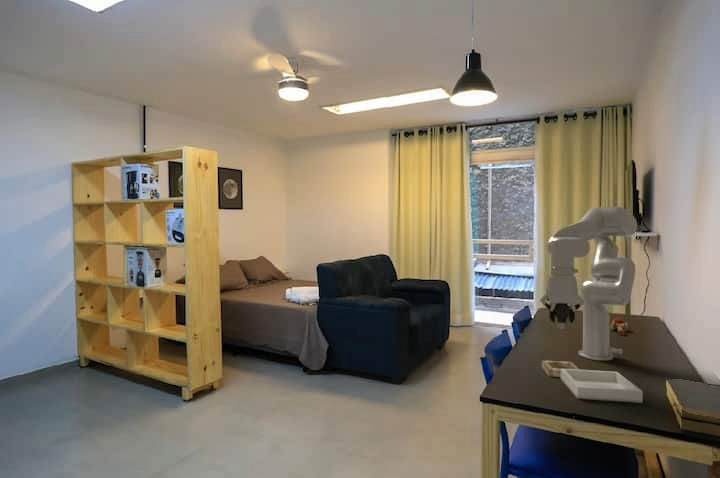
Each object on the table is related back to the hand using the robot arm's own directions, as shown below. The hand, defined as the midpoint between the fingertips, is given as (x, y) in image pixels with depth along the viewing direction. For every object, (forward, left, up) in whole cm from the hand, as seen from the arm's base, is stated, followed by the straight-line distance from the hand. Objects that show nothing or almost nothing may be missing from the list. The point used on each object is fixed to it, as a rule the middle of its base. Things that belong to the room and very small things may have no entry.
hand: (561, 321), depth 153 cm
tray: (-7, +16, -19) cm, 26 cm away
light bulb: (0, 0, -3) cm, 3 cm away
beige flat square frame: (0, 0, -19) cm, 19 cm away
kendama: (-49, -74, -19) cm, 91 cm away
